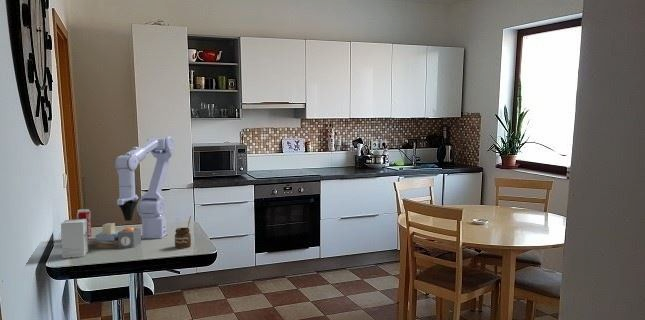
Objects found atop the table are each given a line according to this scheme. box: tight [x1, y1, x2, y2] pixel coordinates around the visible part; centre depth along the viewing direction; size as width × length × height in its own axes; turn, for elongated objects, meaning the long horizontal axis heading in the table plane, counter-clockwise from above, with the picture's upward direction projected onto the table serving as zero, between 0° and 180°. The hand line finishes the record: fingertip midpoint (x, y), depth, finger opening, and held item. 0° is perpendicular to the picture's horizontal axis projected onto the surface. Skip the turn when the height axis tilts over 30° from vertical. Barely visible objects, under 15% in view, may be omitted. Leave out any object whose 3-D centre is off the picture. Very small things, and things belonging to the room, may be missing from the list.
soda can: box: [76, 208, 92, 238], centre depth 195 cm, size 5×5×12 cm
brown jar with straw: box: [174, 215, 192, 249], centre depth 178 cm, size 6×6×12 cm
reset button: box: [123, 226, 135, 232], centre depth 181 cm, size 4×4×2 cm
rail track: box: [87, 232, 118, 249], centre depth 182 cm, size 17×8×4 cm, turn 90°
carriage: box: [95, 222, 120, 241], centre depth 181 cm, size 7×7×6 cm
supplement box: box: [60, 218, 89, 259], centre depth 167 cm, size 7×7×13 cm
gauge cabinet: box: [117, 227, 142, 249], centre depth 181 cm, size 6×8×6 cm
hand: (128, 220), depth 182 cm, fingers closed
